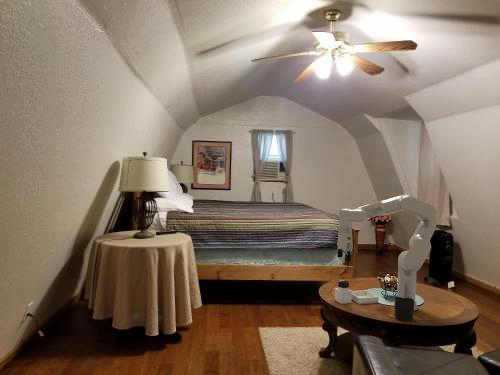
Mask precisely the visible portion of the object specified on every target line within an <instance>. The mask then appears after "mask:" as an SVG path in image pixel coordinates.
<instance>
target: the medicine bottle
mask: <svg viewBox="0 0 500 375" xmlns="http://www.w3.org/2000/svg"><path fill="white" fill-rule="evenodd" d="M337 282H338V283H337V287H335V288H334V296H333V297H334V298H333V300H334V301H335V302H336V303H339V304H340V305H344V304H351V303H352V301H353V300H352V291H353V290H351V289H350V282H349V281H348V280H344V279H342V280H339V281H337Z"/></svg>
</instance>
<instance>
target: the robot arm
mask: <svg viewBox="0 0 500 375" xmlns="http://www.w3.org/2000/svg"><path fill="white" fill-rule="evenodd" d="M403 211H406V212H407V213H409V214H413V215H414V216H416V217H419V223H418V225H417V227H416V229H415V231H414V233H413V234H412V236H411V237H410V239H409V242H408V246H409V250H404V251H402V252H400V254H399V255H398V259H397V266H398V268H397V270H398V272H397V287H396V288H397V291H396V297H401V298H412V299H413V300H414V311H416V310H418V309H419V305H417V301H416V294H417V293H416V291H417V290H416V289H417V272H418V271H419V270H420V269H421V268H422V266H423V264H424V263H425V261H426V260H427V258H428V255H430V253H431V250H432V245H431V242H430V240H431V238H432V237H433V235H434V232H435V231H436V228H437V215H438V210H437V208H436V207H435V206H434V205H433V204H431V203H428V202H425V201H424V200H421V199H419V198H416V197H414V196H413V195H410V194H407V193H406V194H405V193H404V194H401V195H398V196H394V197H390V198H387V199H384V200H380V201H377V202H374V203H370V204H369V203H368V204H366V205H362V206H358V207H356V208H355V209H351V208H346V207H345V208H344V207H343V208H339V212H338V229H337V230H338V234H337V235H338V236H337V241H336V250H337V252H336V253H337V256H336V257H337V258H343V256H344V254H343V253H344V251H345V258H344V260H345V262H351V261H352V253H353V250H354V248H353V245H354V243H353V233H352V232H353V223H354V222H355V223H359V224H361V223H364V222H366V220H367V219H368V218H373V217H377V216H379V217H380V216H382V217H384V216H389V215H392V214H396V213H399V212H403ZM393 306H394V307H395V301H394V302H393Z"/></svg>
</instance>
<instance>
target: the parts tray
mask: <svg viewBox="0 0 500 375" xmlns="http://www.w3.org/2000/svg"><path fill="white" fill-rule="evenodd" d="M351 291H352V301H353V302H354V303H356V304H358V305H369V304H379V296H378V295H376V294H375V293H373V292H371V291H370V290H367V289H363V290H362V289H361V290H351Z"/></svg>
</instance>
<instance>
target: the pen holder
mask: <svg viewBox="0 0 500 375" xmlns="http://www.w3.org/2000/svg"><path fill="white" fill-rule="evenodd" d="M394 302H395V306H394V317H395V319H397V320H398V321H403V322H411V321H412V320H413V318H414V311H415V310H414V300H413V299H412V298H401V297H397V296H395V297H394Z"/></svg>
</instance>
